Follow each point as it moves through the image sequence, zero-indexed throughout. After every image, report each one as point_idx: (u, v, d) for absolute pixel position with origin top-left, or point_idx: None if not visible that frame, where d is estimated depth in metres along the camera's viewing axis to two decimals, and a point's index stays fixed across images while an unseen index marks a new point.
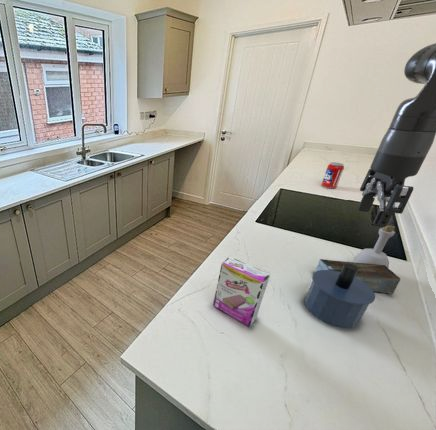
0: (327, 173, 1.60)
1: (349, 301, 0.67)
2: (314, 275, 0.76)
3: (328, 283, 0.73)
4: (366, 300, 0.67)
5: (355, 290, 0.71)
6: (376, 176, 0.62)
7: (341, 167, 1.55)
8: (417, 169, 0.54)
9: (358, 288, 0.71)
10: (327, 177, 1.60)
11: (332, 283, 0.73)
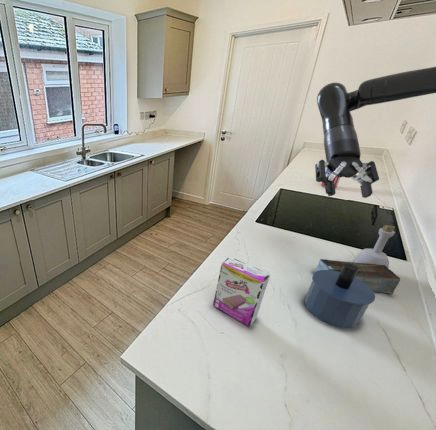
0: (327, 173, 1.60)
1: (349, 301, 0.67)
2: (314, 275, 0.76)
3: (328, 283, 0.73)
4: (366, 300, 0.67)
5: (355, 290, 0.71)
6: None
7: None
8: (336, 149, 0.74)
9: (358, 288, 0.71)
10: None
11: (332, 283, 0.73)
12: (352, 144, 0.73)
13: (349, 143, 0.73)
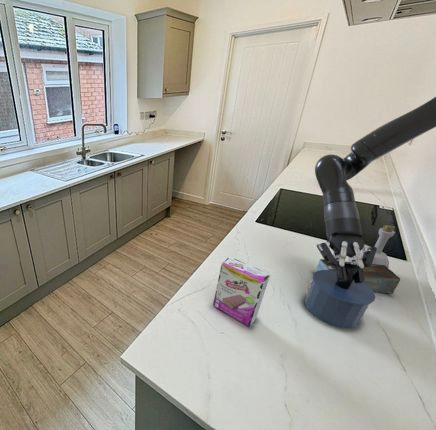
0: None
1: (349, 301, 0.67)
2: (314, 275, 0.76)
3: (328, 283, 0.73)
4: (366, 300, 0.67)
5: (355, 290, 0.70)
6: None
7: None
8: (337, 227, 0.72)
9: (358, 288, 0.71)
10: None
11: (332, 283, 0.73)
12: (353, 224, 0.70)
13: (350, 223, 0.70)
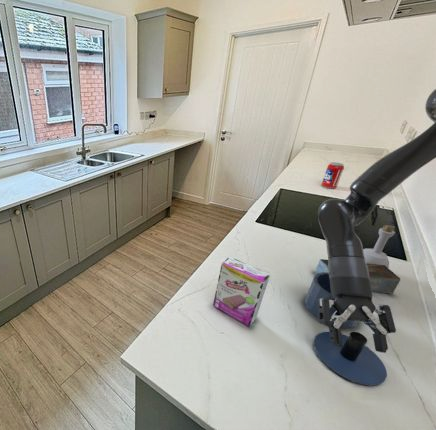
0: (327, 173, 1.60)
1: (356, 380, 0.58)
2: (315, 340, 0.67)
3: (331, 353, 0.63)
4: (376, 379, 0.58)
5: (363, 363, 0.61)
6: None
7: (341, 167, 1.55)
8: (343, 287, 0.62)
9: (366, 360, 0.62)
10: (327, 177, 1.60)
11: (336, 352, 0.64)
12: (362, 285, 0.60)
13: (359, 283, 0.61)
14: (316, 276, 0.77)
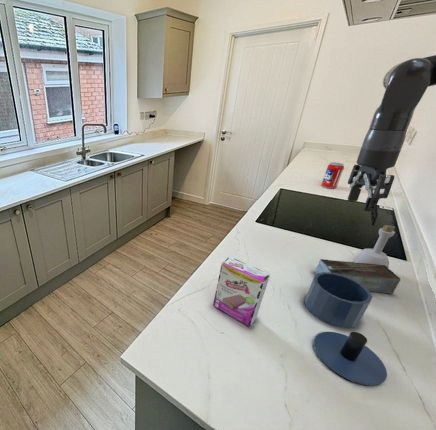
0: (327, 173, 1.60)
1: (356, 380, 0.58)
2: (315, 340, 0.67)
3: (331, 353, 0.63)
4: (376, 379, 0.58)
5: (363, 363, 0.61)
6: (361, 170, 0.73)
7: (341, 167, 1.55)
8: (395, 161, 0.66)
9: (366, 360, 0.62)
10: (327, 177, 1.60)
11: (336, 352, 0.64)
12: None
13: None
14: (316, 276, 0.77)
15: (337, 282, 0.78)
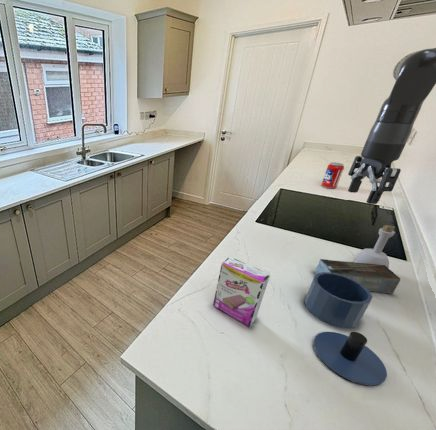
0: (327, 173, 1.60)
1: (356, 380, 0.58)
2: (315, 340, 0.67)
3: (331, 353, 0.63)
4: (376, 379, 0.58)
5: (363, 363, 0.61)
6: (364, 162, 0.73)
7: (341, 167, 1.55)
8: (400, 154, 0.66)
9: (366, 360, 0.62)
10: (327, 177, 1.60)
11: (336, 352, 0.64)
12: None
13: None
14: (316, 276, 0.77)
15: (337, 282, 0.78)
